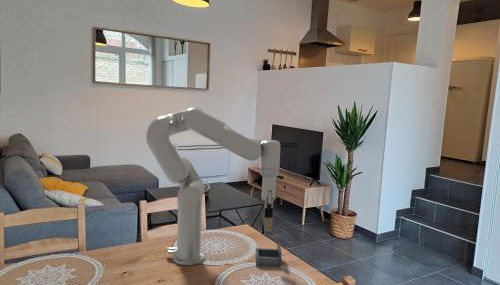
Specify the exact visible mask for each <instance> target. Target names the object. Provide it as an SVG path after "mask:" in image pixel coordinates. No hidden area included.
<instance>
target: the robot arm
mask: <svg viewBox="0 0 500 285" xmlns="http://www.w3.org/2000/svg"><path fill="white" fill-rule="evenodd" d="M187 131H193V132H194V133H196V134H198V135H201V136H202V137H204V138H206V139H208V140H210V141H212V142H213V143H215V144H217V145H218V146H221V147H222V148H224V149H226V150H228V151H229V152H231V153H232V154H235V155H236V156H239V157H241V158H242V159H245V160H247V161H250V162H252V161H257V160H258V159H259V158H260V176H262V181H261V182H262V183H261V193H262V197H261V200H262V201H263V202H265V200H266V207H265V218H272V217H273V218H274V201H275V193H276V191H277V190H276V188H277V177H279V176H280V167H281V166H280V164H281V162H280V161H281V160H280V159H281V143H280V141H279V140H276V139H265V140H264V139H263V140H262V139H256V138H248V137H246V136H244V135H243V134H241V133H239V132H237V131H235V130H234V129H232V128H231V127H230V126H229V125H228V124H227V123H226V122H224V121H222V120H220V119H218V118H216V117H214V116H212V115H209V114H207V113H206V112H204V111H203V110H202V109H201V108H199V107H189V108H187V109H184V110H181V111H177V112H174V113H169V114H165V115H159V116H158V117H155V119H153V120H152V121H151V122H150V124H149V126H148V127H147V131H146V139H145V140H146V144H147V147H148V149H149V150H150V151H151V153H152V155H153V156H154V159H155V160H156V162H157V163H158V165H159V167H160V169H161V170H162V172H163V174H164V176H165V177H166V179H167V180H168V181H169V182H171V183H172V184H177V185H178V187H179V190H178V193H177V198H176V202H177V203H176V204H177V234H176V235H177V236H176V238H177V239H176V246H173V247H171V246H169V247H168V246H166V250H165V252H166V253H167V255H172V261H173V262H174V263H176V264H178V265H180V266H182V265H183V266H194V265H198V264H201V263H202V262H203V261H204V259H205V254H204V253H203V252H202V251H201V246H202V217H203V215H202V214H203V212H202V211H203V210H202V209H203V208H202V207H203V206H202V205H203V196H204V194H205V191H206V190H205V184H204V182H203V180H202V178H201V177H200V175H199V174H198V171H197V170H196V169H195V167H194V166H193V164H192V162H191V161H190V160H189V159H188V158H187V157H185V156H181V155H180V154H179V153H178V151H177V149H176V147H175V146H174V145H173V143H172V142H171V141H170V137H171V136H173V135H176V134H179V133H184V132H187ZM267 199H268V200H267ZM271 199H272V200H271ZM267 202H268V203H267Z"/></svg>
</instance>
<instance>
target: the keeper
mask: <svg viewBox="0 0 500 285" xmlns="http://www.w3.org/2000/svg"><path fill="white" fill-rule="evenodd" d="M276 244H277V247H276V248H261V247H259V248H258V247H256V248H255V254H254V255H255V257H254V258H255V260H254V261H255V267H270V268H271V267H272V268H281V267H282V249H281V243H276Z"/></svg>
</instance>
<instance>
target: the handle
mask: <svg viewBox="0 0 500 285" xmlns="http://www.w3.org/2000/svg"><path fill="white" fill-rule="evenodd" d="M260 197H261V198H262V192H261V193H260ZM277 198H278V194H277V193H276V192H275V199H277ZM267 200H268V199H267ZM271 200H272V199H271ZM267 203H268V202H267ZM263 204H264V206H263V218H262V222H263V224H262V225H263V230H264V231H266V232H269V231H272V228H273V222H274V216H273V217H272V218H265V207H266V200H264V203H263Z"/></svg>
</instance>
